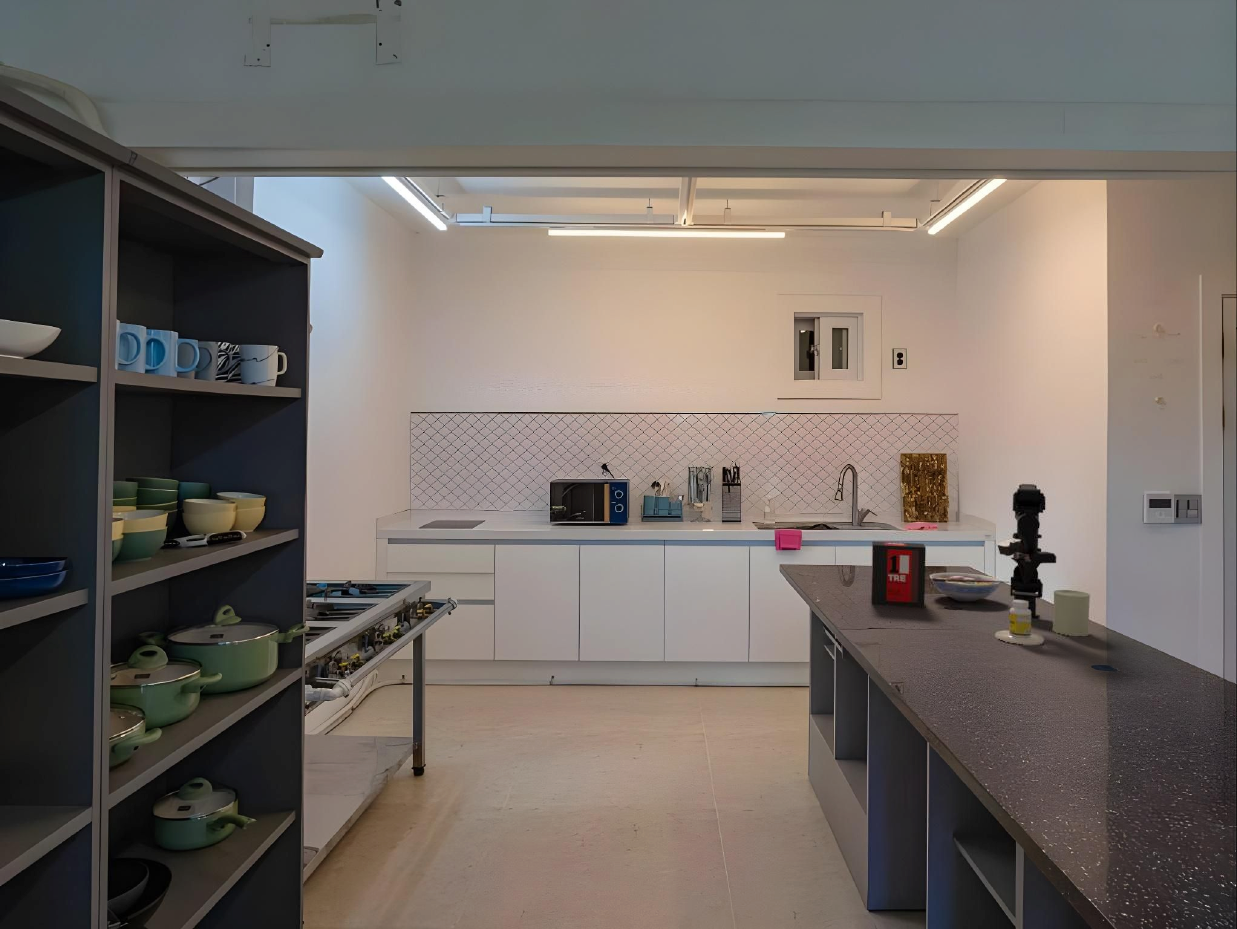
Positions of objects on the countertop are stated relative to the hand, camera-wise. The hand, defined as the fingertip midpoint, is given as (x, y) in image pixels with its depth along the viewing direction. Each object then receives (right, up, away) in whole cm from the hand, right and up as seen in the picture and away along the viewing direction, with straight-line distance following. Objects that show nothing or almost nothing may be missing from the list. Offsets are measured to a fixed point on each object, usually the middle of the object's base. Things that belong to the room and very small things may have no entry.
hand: (1026, 582), depth 233 cm
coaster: (-10, -14, -16) cm, 23 cm away
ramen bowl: (-2, -12, +37) cm, 38 cm away
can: (+9, -14, -7) cm, 18 cm away
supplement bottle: (-10, -13, -16) cm, 23 cm away
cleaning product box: (-28, -12, +30) cm, 43 cm away
